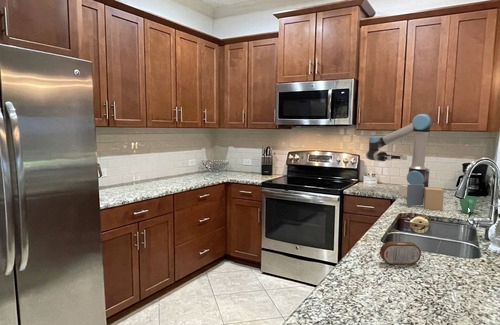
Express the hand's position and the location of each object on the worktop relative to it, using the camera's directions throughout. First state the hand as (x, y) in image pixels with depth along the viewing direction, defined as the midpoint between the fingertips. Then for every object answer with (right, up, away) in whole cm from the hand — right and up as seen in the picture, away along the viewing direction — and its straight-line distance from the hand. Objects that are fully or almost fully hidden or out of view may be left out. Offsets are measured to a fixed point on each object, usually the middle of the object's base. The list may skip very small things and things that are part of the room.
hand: (398, 158), depth 243 cm
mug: (+29, -35, -33) cm, 57 cm away
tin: (-51, -42, -116) cm, 133 cm away
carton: (+13, -34, -21) cm, 42 cm away
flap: (+3, -32, -10) cm, 34 cm away
